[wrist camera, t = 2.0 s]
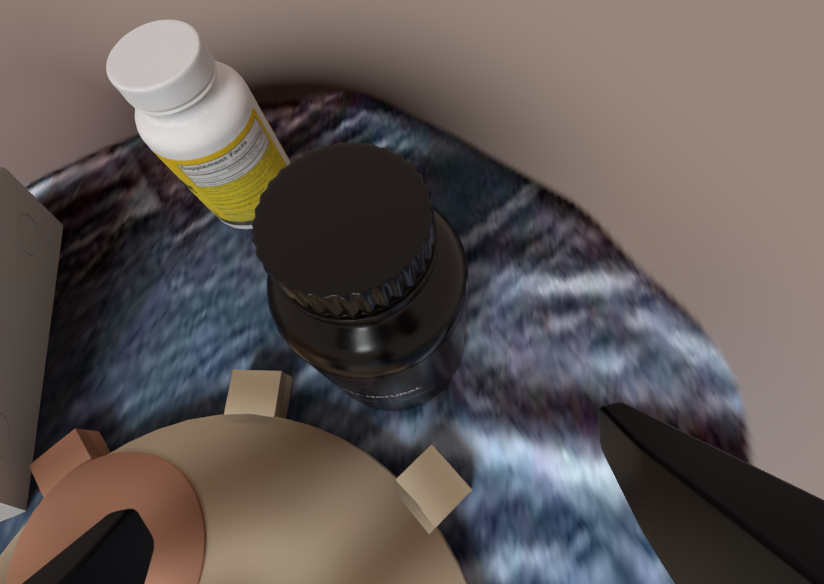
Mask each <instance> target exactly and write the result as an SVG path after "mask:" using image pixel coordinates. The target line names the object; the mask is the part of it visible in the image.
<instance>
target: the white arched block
mask: <svg viewBox="0 0 824 584" xmlns="http://www.w3.org/2000/svg"><path fill="white" fill-rule="evenodd" d="M62 232H63V225H62V224H61V223H60V222H59V221H58V220H57V219H56V218H55V217H54V216H53V215H52V214H51V213H50V212H49V211H48V210H47V209H46V208H45V207H44V206H43V205H42V204H41V203H40V202H39V201H38V200H37V199H36V198H35V197H34V196H33V195H32V194H31V193H30V192H29V191H28V190H27V189H26V188H25V187H24V186H23V185H22V184H21V183H20V182H19V181H18V180H17V179H16V178H15V177H14V176H13V175H12V174H11V173H10V172H9V171H8V170H7V169H5V168H2V167H0V521H3V520H6V519H8V518H11V517H14V516H16V515H18V514H20V513H22V512H24V511H26V509H27V502H28V494H29V486H30V479H31V469H30V467H29V465H30V464H31V463H32V462H33V455H34V448H35V440H36V432H37V425H38V417H39V409H40V401H41V394H42V386H43V378H44V371H45V363H46V355H47V347H48V340H49V332H50V324H51V317H52V309H53V301H54V293H55V286H56V278H57V270H58V263H59V255H60V247H61V239H62Z"/></svg>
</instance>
